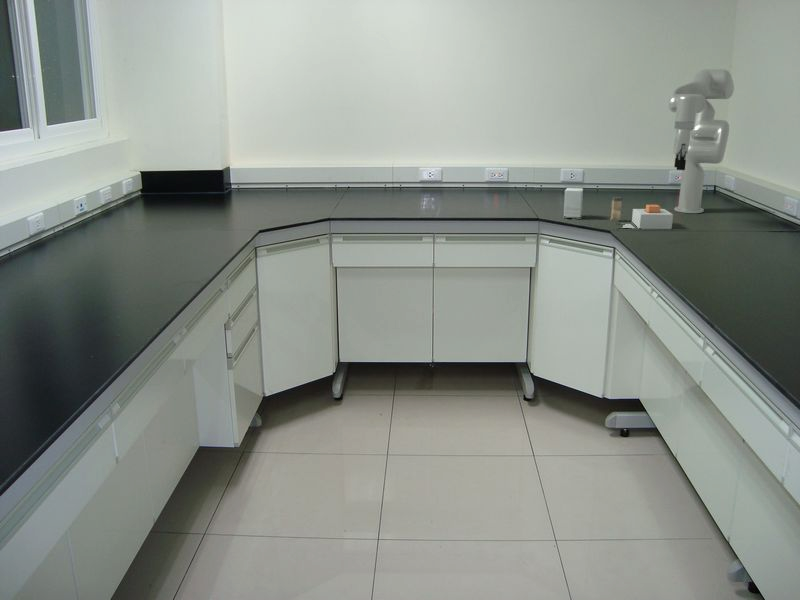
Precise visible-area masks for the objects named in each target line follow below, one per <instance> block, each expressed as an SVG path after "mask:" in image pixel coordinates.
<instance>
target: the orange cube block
mask: <svg viewBox="0 0 800 600" xmlns="http://www.w3.org/2000/svg"><path fill="white" fill-rule="evenodd" d="M645 209H646V211H645V212H647V213H660V209H662V208H661V206H660V205H659V204H646V205H645Z"/></svg>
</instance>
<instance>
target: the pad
mask: <svg viewBox="0 0 800 600" xmlns="http://www.w3.org/2000/svg"><path fill="white" fill-rule="evenodd" d="M624 224H625V225H623V227H622V228H632V229H631V230H636V226H634V225H632V223H624Z"/></svg>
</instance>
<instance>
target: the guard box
mask: <svg viewBox="0 0 800 600" xmlns="http://www.w3.org/2000/svg"><path fill="white" fill-rule="evenodd" d="M645 211H646V208H632V216H631V217H632V218H631V223H632V222H633V223H634V224H635V225H636V226H637V227H636V226H635V225H634V224H633V223H632V224H633V225H634V226H635V227H636V228H638V229H639V228H641V229H640V230H672V228H673V221H674V220H673V218H674V214H673V213H672V212H671V211H670V212H669V211H668V210H666V209H665V208H660V213H647V212H645Z"/></svg>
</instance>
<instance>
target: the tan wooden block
mask: <svg viewBox="0 0 800 600" xmlns="http://www.w3.org/2000/svg"><path fill="white" fill-rule="evenodd" d="M611 199H612V200H611V213H610V220H611V219H613V220H620V221H621V214H622V213H621V212H622V202H623V198H622V197H620V196H614V197H612V198H611Z"/></svg>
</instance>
